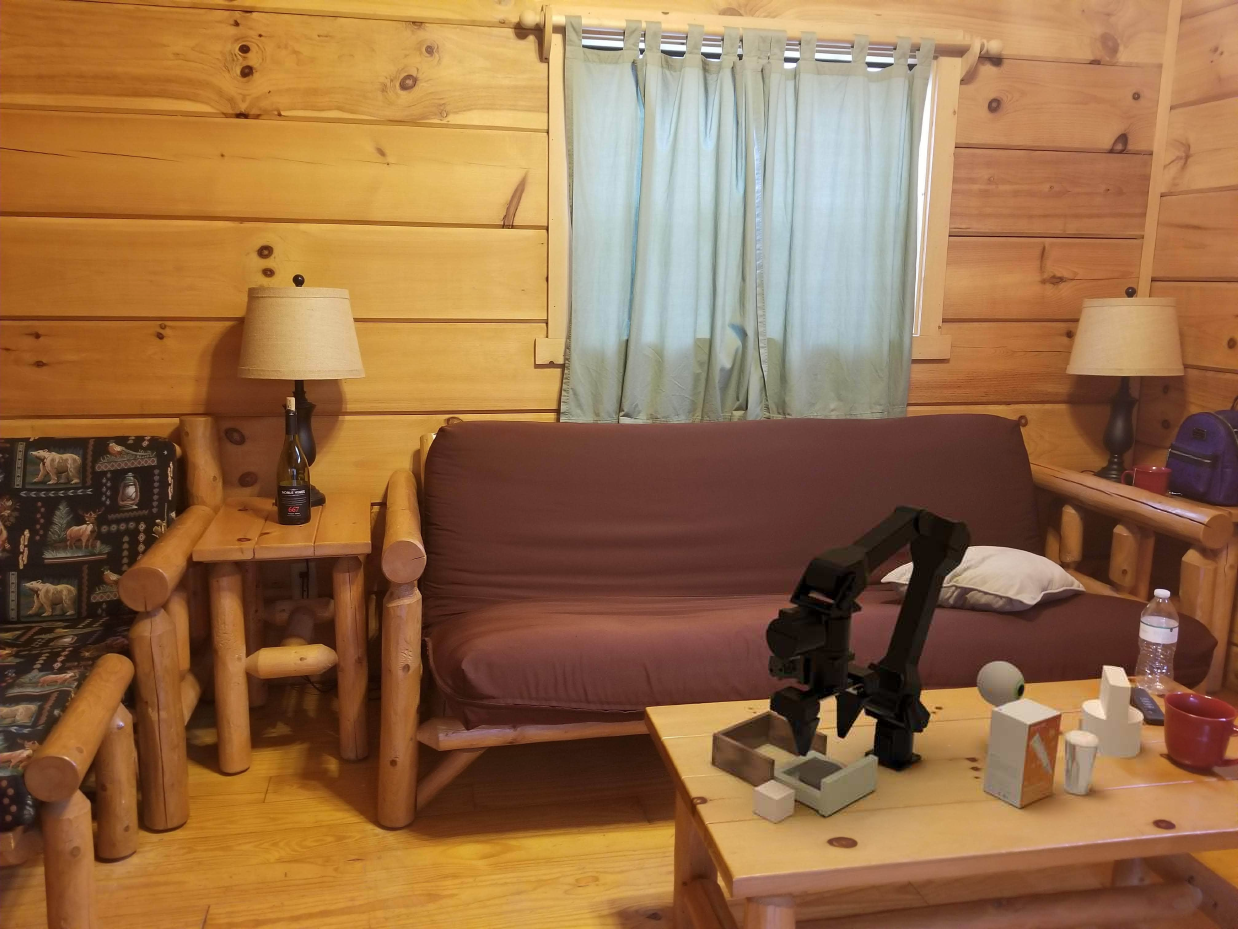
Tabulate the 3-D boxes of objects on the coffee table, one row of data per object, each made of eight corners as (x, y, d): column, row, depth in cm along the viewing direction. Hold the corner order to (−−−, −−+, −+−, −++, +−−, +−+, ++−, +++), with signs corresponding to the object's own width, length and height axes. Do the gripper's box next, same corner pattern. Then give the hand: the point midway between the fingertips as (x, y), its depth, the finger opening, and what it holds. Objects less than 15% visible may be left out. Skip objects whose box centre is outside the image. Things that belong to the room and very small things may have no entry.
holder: (711, 764, 153) (712, 733, 152) (767, 739, 162) (769, 710, 161) (769, 793, 145) (771, 761, 144) (825, 765, 153) (827, 735, 152)
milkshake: (1090, 783, 150) (1097, 721, 148) (1094, 800, 145) (1102, 736, 143) (1057, 778, 151) (1064, 716, 150) (1060, 794, 146) (1067, 731, 145)
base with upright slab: (1143, 762, 157) (1152, 690, 155) (1081, 752, 160) (1089, 682, 158) (1134, 738, 166) (1142, 670, 163) (1075, 729, 168) (1083, 662, 166)
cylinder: (816, 768, 150) (817, 755, 150) (852, 784, 146) (853, 771, 145) (789, 781, 146) (790, 768, 146) (825, 798, 141) (826, 785, 141)
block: (771, 802, 142) (772, 779, 141) (793, 813, 139) (794, 790, 138) (752, 811, 139) (754, 788, 139) (775, 823, 136) (776, 800, 136)
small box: (1019, 810, 142) (1028, 724, 139) (982, 790, 147) (990, 708, 145) (1053, 795, 146) (1063, 712, 144) (1015, 777, 151) (1024, 696, 149)
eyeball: (1003, 766, 155) (1012, 675, 152) (962, 749, 160) (970, 661, 157) (1025, 752, 159) (1035, 664, 157) (984, 737, 165) (992, 651, 162)
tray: (763, 785, 146) (765, 753, 145) (813, 761, 154) (815, 731, 153) (826, 816, 138) (828, 783, 137) (875, 789, 146) (878, 757, 145)
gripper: (822, 616, 154) (816, 711, 157) (743, 642, 142) (737, 745, 144) (884, 636, 146) (877, 736, 149) (805, 666, 133) (799, 774, 136)
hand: (822, 746), depth 145 cm, fingers open, 9 cm apart
